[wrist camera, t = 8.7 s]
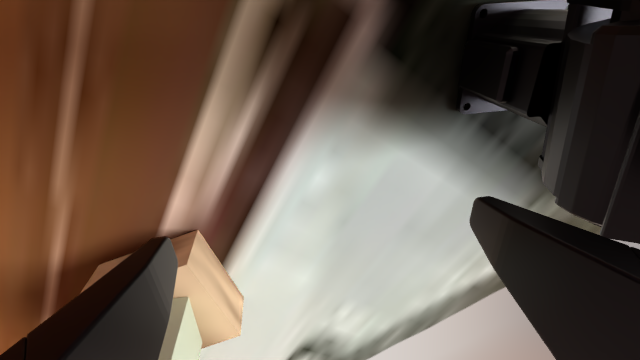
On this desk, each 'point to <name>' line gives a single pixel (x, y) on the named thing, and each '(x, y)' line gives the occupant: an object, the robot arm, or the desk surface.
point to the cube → (181, 333)
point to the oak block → (200, 288)
